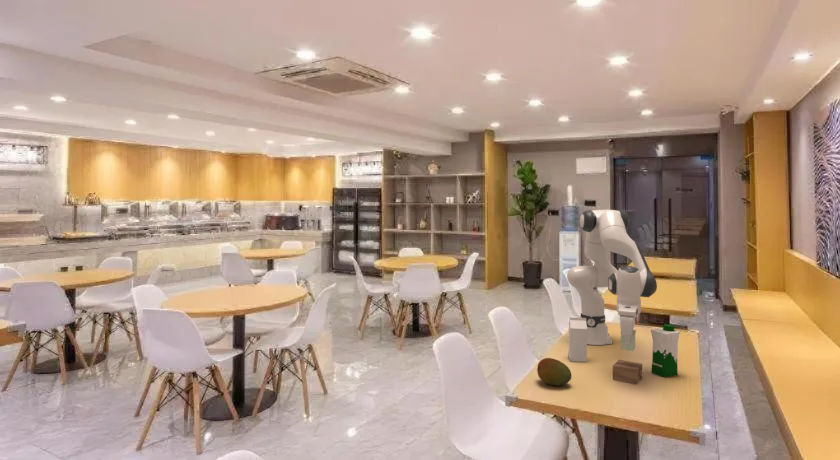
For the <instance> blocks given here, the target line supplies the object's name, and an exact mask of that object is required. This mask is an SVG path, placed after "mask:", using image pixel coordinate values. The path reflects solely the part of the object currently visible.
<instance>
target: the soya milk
mask: <svg viewBox="0 0 840 460" xmlns="http://www.w3.org/2000/svg"><path fill="white" fill-rule="evenodd" d="M650 334H651V336H652V337H651V338H652V357H651V358H652V361H651V368H650V369H651V371H650V372H651V373H652V374H654V375H657V376H659V377H663V378H669V377H676V376H678V375H679V374H678V373H679V372H678V350H679V349H678V347H679V346H678V343H679V338H680V334H681V333H680V331H677V330H675V325H674V324H671V323H670V324H669V323H664V324H663V327H659V328H654V329H650Z"/></svg>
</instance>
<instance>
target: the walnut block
mask: <svg viewBox="0 0 840 460" xmlns="http://www.w3.org/2000/svg"><path fill="white" fill-rule="evenodd" d="M642 379H643V363H640V362H635V361H634V362H633V361H630V360H622V359H618V360H617V361H616V362H615V363H614V364H612V380H613V381H617V382H621V383H627V384H633V385H638V384H639V382H640V381H641V380H642Z"/></svg>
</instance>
